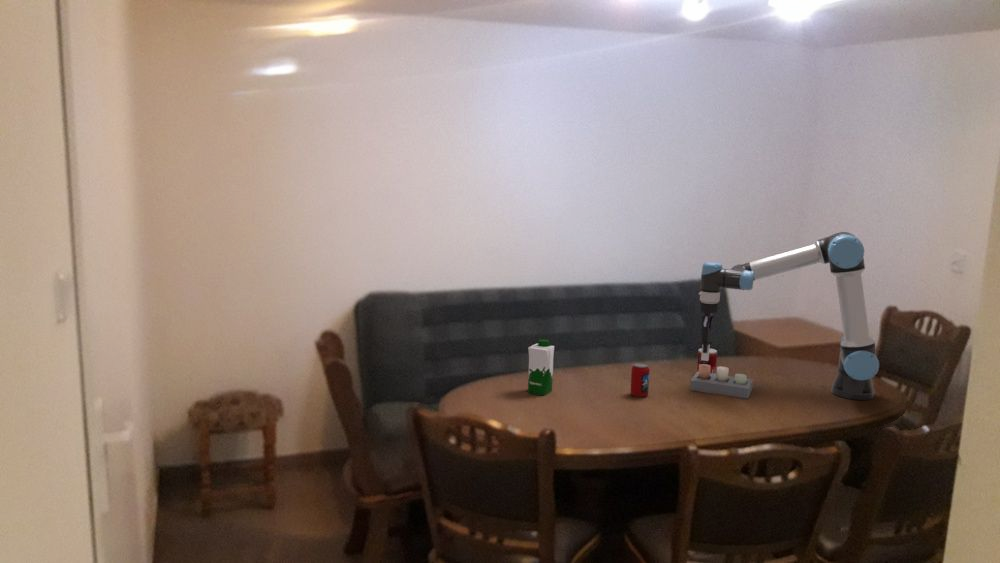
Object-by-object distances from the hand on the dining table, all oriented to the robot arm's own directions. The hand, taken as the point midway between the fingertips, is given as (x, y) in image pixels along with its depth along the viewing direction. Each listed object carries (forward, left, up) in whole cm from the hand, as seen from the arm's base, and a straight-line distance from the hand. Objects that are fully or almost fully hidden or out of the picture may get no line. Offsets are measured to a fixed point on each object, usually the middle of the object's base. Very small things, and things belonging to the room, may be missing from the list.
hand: (704, 360), depth 307 cm
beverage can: (+20, +23, -11) cm, 32 cm away
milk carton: (+55, +38, -11) cm, 68 cm away
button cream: (-7, 0, -7) cm, 10 cm away
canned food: (+2, -17, -11) cm, 20 cm away
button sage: (-14, 0, -9) cm, 17 cm away
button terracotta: (0, 0, -7) cm, 7 cm away
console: (-7, 0, -11) cm, 13 cm away
